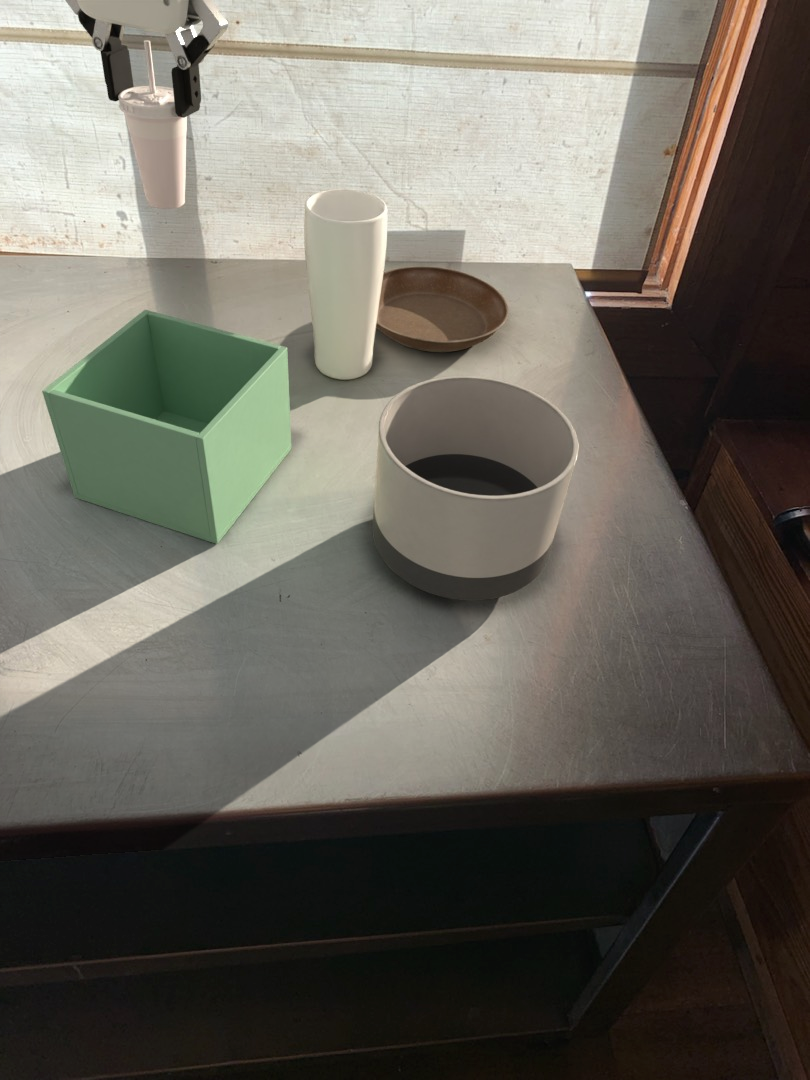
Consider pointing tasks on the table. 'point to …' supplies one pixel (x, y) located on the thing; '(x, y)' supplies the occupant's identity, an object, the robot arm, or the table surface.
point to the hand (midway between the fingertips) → (154, 103)
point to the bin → (173, 423)
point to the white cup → (344, 277)
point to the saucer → (438, 308)
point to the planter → (470, 485)
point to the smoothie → (157, 139)
